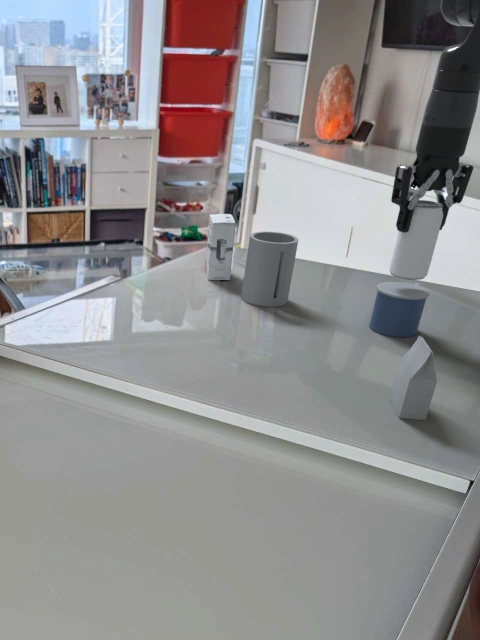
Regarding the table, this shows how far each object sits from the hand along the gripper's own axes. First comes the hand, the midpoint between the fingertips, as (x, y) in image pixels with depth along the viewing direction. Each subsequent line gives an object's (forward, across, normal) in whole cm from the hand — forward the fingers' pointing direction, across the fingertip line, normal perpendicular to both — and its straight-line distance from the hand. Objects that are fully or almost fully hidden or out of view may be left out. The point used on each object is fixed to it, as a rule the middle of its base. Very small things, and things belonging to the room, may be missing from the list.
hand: (419, 230), depth 130 cm
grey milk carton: (+18, -20, -29) cm, 40 cm away
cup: (+18, -15, +21) cm, 31 cm away
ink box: (+18, -17, +38) cm, 45 cm away
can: (+8, 0, 0) cm, 8 cm away
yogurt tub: (+18, 0, 0) cm, 18 cm away
